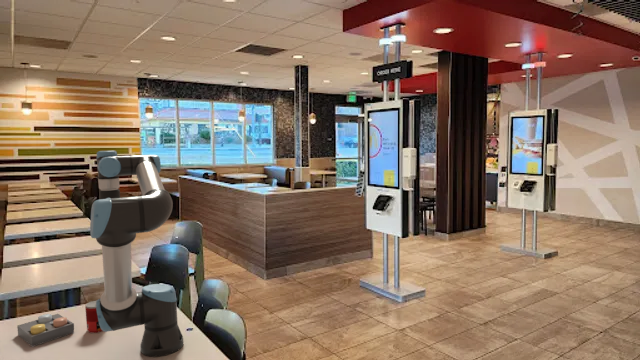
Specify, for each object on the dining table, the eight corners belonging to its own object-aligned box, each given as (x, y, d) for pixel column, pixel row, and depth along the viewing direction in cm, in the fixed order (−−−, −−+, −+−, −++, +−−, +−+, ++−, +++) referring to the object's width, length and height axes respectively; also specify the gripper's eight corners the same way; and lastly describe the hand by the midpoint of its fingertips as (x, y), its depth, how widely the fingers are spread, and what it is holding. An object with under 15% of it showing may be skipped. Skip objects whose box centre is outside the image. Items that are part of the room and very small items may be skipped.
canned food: (99, 333, 178) (98, 307, 177) (82, 332, 180) (80, 306, 179) (112, 325, 186) (110, 300, 185) (95, 324, 187) (93, 299, 186)
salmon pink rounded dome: (69, 327, 180) (68, 319, 179) (56, 331, 176) (55, 323, 176) (64, 324, 183) (64, 316, 182) (52, 328, 179) (51, 320, 179)
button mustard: (47, 334, 174) (46, 325, 173) (33, 339, 170) (33, 330, 170) (43, 331, 177) (42, 322, 176) (29, 335, 173) (28, 327, 173)
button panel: (74, 332, 180) (73, 323, 179) (32, 346, 168) (31, 336, 168) (58, 322, 190) (57, 313, 190) (18, 335, 179) (17, 325, 178)
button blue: (54, 323, 184) (53, 315, 183) (41, 327, 180) (40, 319, 179) (49, 321, 187) (49, 313, 186) (37, 324, 183) (36, 316, 183)
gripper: (120, 187, 185) (124, 242, 188) (88, 190, 175) (92, 248, 178) (129, 188, 180) (133, 244, 183) (96, 191, 170) (101, 251, 173)
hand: (113, 246), depth 180 cm, fingers closed
